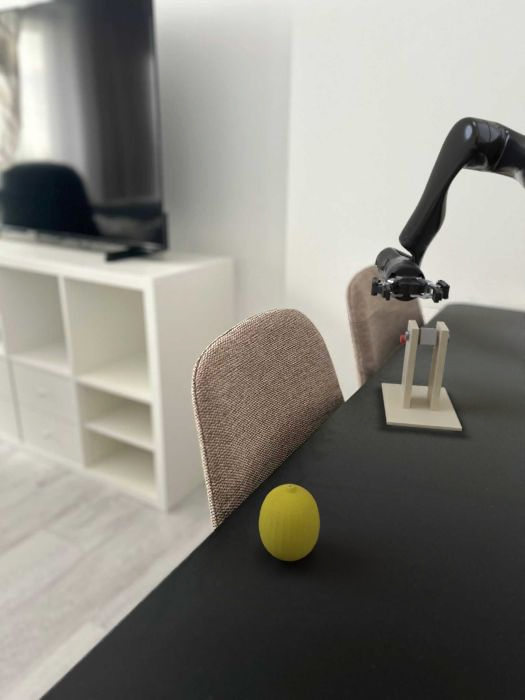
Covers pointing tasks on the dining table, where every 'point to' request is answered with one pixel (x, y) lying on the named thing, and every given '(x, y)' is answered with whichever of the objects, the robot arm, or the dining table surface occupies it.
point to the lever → (424, 337)
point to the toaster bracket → (421, 388)
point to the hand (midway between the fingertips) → (412, 296)
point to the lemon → (289, 522)
